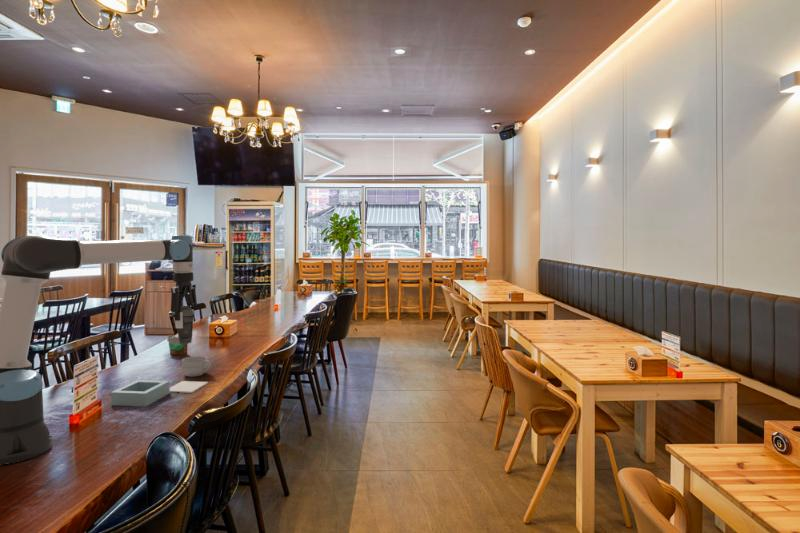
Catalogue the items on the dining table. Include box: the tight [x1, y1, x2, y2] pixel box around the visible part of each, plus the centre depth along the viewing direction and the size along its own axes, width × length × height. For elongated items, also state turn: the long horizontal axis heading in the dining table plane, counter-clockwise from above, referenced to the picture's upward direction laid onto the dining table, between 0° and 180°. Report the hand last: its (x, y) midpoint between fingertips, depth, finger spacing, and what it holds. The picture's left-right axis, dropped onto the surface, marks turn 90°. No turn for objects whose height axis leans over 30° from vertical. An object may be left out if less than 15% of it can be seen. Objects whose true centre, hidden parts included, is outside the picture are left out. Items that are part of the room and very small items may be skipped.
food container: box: [166, 334, 189, 357], centre depth 230 cm, size 12×6×10 cm, turn 73°
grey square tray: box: [110, 379, 171, 408], centre depth 166 cm, size 14×14×5 cm
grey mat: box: [170, 380, 209, 394], centre depth 179 cm, size 12×12×1 cm
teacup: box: [181, 355, 212, 377], centre depth 195 cm, size 14×11×8 cm
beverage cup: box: [176, 302, 195, 344], centre depth 177 cm, size 7×7×20 cm
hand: (185, 326), depth 178 cm, fingers closed on beverage cup, 7 cm apart
